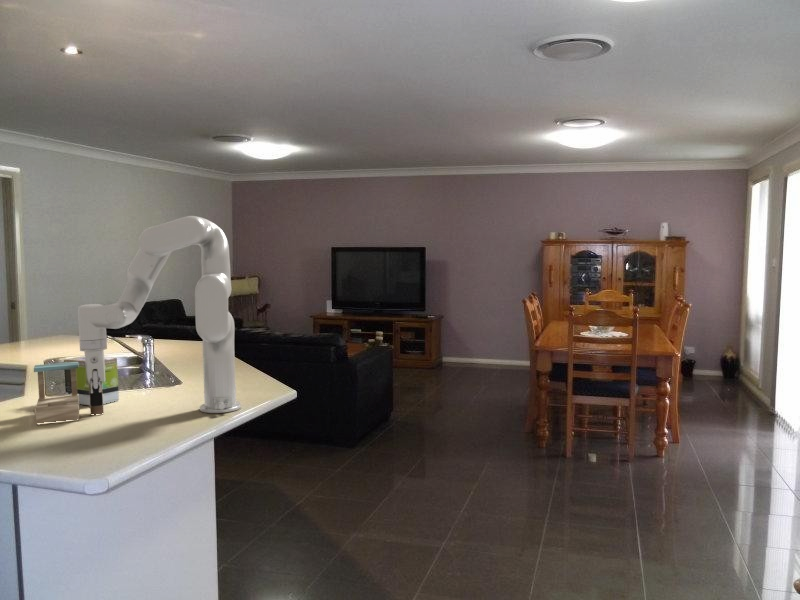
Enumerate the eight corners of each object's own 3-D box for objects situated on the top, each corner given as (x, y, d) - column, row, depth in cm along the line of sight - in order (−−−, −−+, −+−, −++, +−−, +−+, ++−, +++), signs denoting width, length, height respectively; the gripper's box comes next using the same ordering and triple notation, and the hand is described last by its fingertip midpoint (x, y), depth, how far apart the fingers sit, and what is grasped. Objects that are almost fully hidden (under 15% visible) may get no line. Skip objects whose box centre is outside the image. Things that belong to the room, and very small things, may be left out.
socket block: (80, 420, 196) (77, 369, 195) (34, 425, 191) (31, 373, 189) (80, 409, 210) (78, 361, 209) (37, 413, 205) (34, 365, 204)
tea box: (120, 400, 221) (118, 357, 220) (93, 407, 213) (90, 361, 211) (92, 396, 229) (89, 354, 228) (64, 402, 220) (62, 358, 219)
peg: (103, 414, 202) (102, 382, 201) (90, 416, 201) (88, 383, 200) (103, 412, 205) (101, 380, 205) (90, 413, 204) (88, 381, 203)
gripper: (107, 347, 195) (110, 408, 197) (105, 340, 211) (108, 396, 212) (79, 349, 192) (82, 411, 193) (79, 342, 208) (82, 399, 209)
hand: (96, 402), depth 203 cm, fingers open, 5 cm apart
